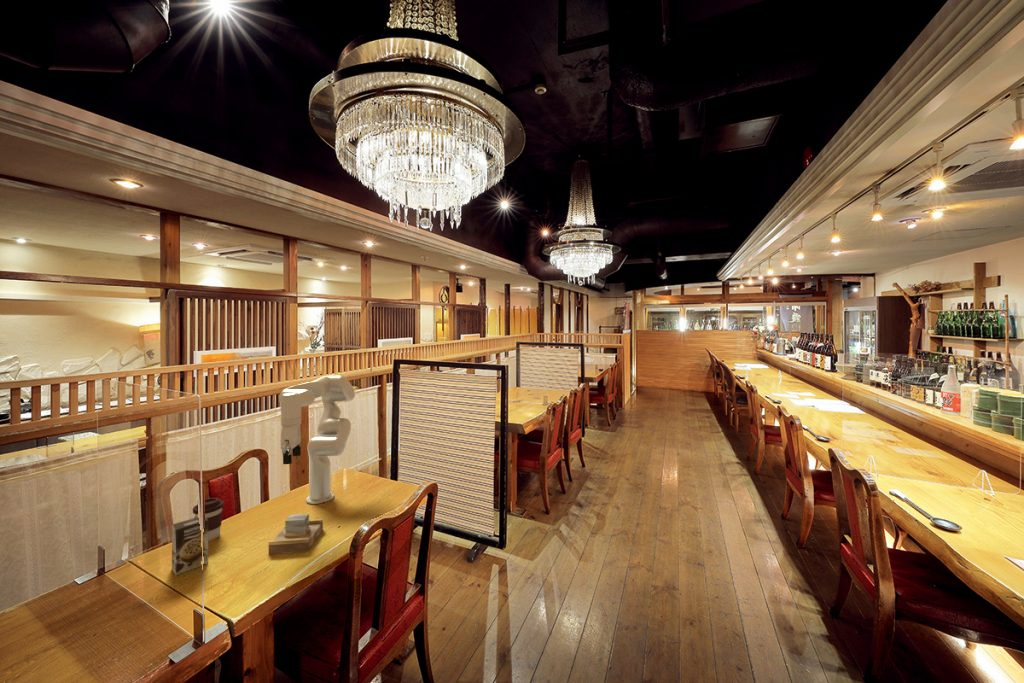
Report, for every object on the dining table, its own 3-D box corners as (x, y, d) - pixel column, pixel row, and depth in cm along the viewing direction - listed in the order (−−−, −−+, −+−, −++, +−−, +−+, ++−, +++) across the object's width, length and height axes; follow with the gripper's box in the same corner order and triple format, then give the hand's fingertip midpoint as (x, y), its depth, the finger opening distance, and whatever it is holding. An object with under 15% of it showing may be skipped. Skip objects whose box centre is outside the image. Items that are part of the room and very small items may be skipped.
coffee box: (175, 576, 127) (175, 529, 127) (171, 569, 131) (170, 524, 131) (209, 563, 135) (208, 519, 134) (203, 557, 139) (203, 514, 138)
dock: (287, 532, 156) (287, 521, 156) (322, 529, 158) (322, 518, 158) (268, 554, 141) (268, 542, 140) (308, 551, 143) (307, 539, 143)
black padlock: (289, 530, 151) (289, 515, 151) (310, 528, 153) (310, 513, 152) (284, 536, 147) (283, 520, 147) (305, 534, 148) (305, 519, 148)
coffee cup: (210, 544, 147) (210, 506, 147) (186, 544, 147) (185, 506, 147) (230, 531, 157) (229, 496, 157) (207, 530, 157) (206, 495, 157)
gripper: (290, 416, 169) (291, 453, 170) (272, 427, 152) (273, 467, 153) (308, 415, 171) (308, 452, 171) (292, 426, 154) (293, 466, 154)
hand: (292, 459), depth 162 cm, fingers open, 9 cm apart
